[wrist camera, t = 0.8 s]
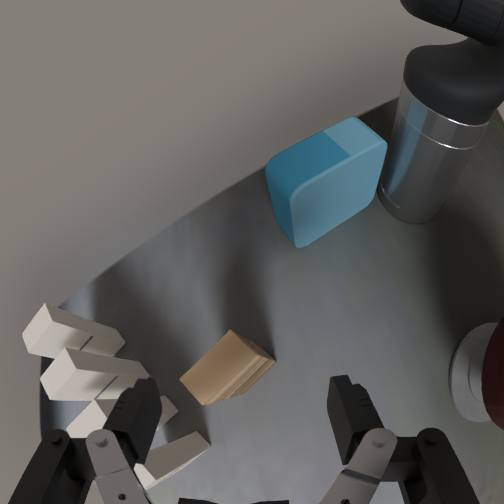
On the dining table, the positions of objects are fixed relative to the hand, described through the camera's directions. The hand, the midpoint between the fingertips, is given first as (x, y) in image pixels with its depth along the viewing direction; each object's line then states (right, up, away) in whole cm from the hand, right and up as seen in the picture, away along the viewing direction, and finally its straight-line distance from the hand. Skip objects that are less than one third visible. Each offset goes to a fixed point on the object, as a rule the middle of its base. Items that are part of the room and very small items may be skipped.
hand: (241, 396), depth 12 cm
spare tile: (0, -6, +18) cm, 19 cm away
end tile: (-18, -6, +21) cm, 29 cm away
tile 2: (-7, -16, +15) cm, 23 cm away
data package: (+10, +11, +24) cm, 28 cm away
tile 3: (-10, -13, +17) cm, 24 cm away
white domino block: (-14, -9, +19) cm, 26 cm away
